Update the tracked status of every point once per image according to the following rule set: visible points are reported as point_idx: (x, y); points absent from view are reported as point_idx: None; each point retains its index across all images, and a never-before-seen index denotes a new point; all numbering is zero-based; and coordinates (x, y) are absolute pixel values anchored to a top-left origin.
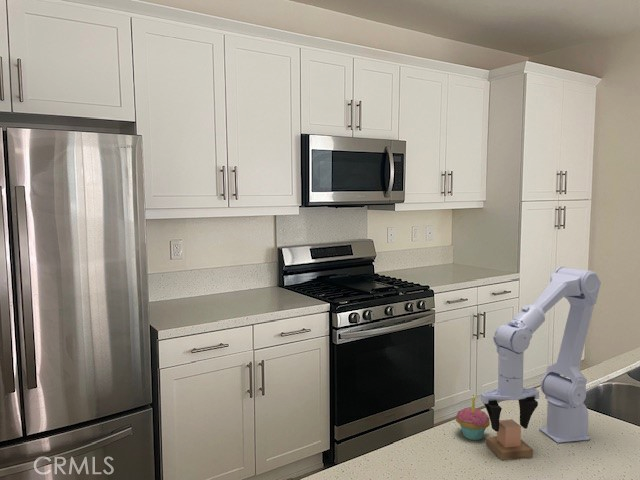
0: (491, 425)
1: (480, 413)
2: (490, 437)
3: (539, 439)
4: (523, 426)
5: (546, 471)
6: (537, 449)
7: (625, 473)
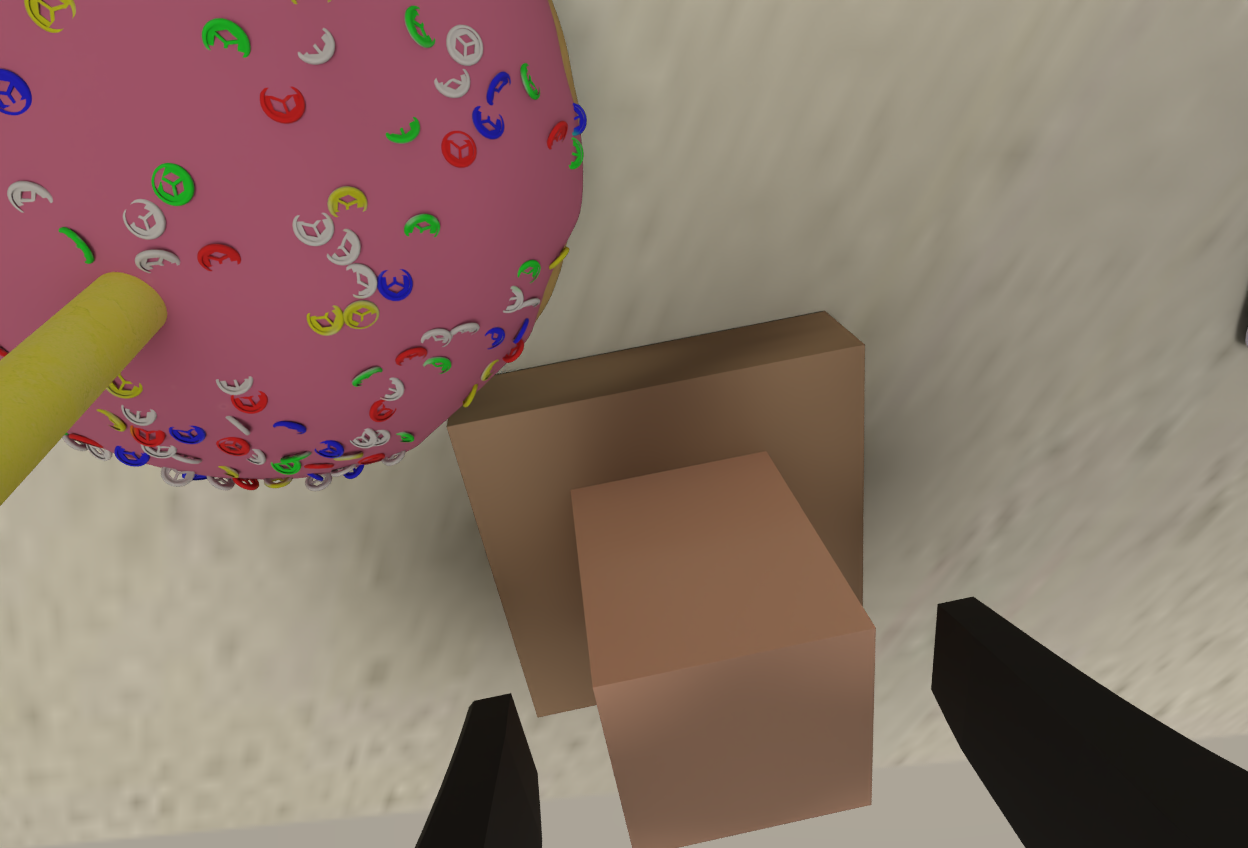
0: (460, 736)
1: (336, 337)
2: (506, 434)
3: (1133, 250)
4: (943, 677)
5: None
6: (960, 461)
7: None
